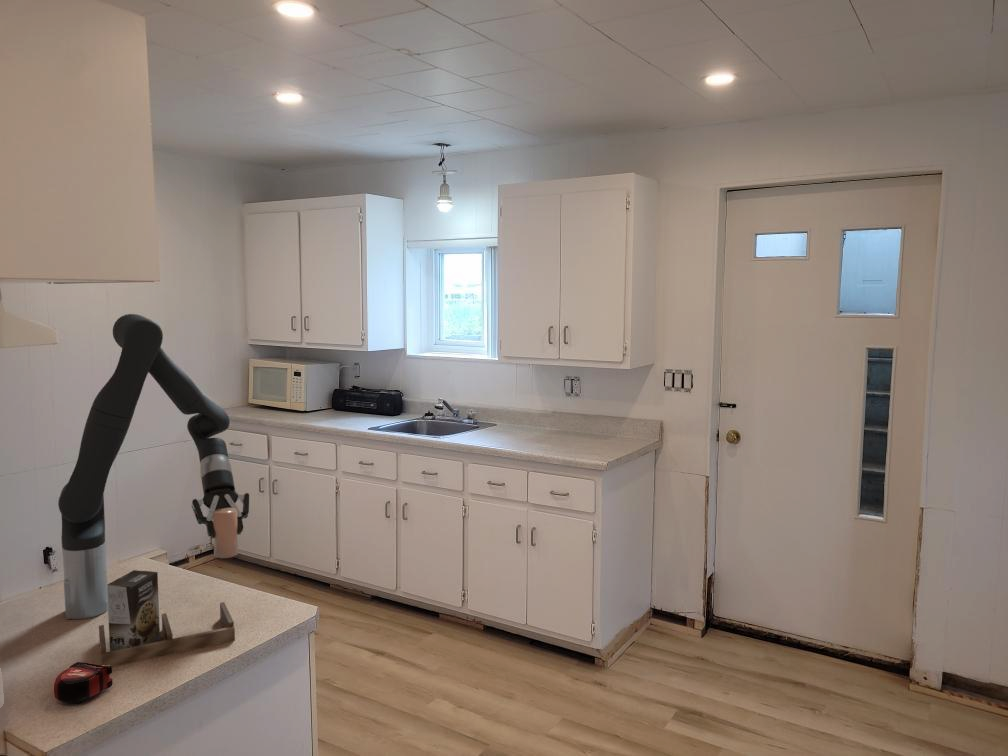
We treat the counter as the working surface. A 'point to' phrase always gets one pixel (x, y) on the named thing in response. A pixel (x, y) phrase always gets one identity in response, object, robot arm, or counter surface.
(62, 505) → the robot arm
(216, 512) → the pink rounded cylinder
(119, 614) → the coffee box
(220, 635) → the wooden rack
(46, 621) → the counter surface
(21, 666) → the counter surface
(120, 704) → the counter surface
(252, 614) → the counter surface
